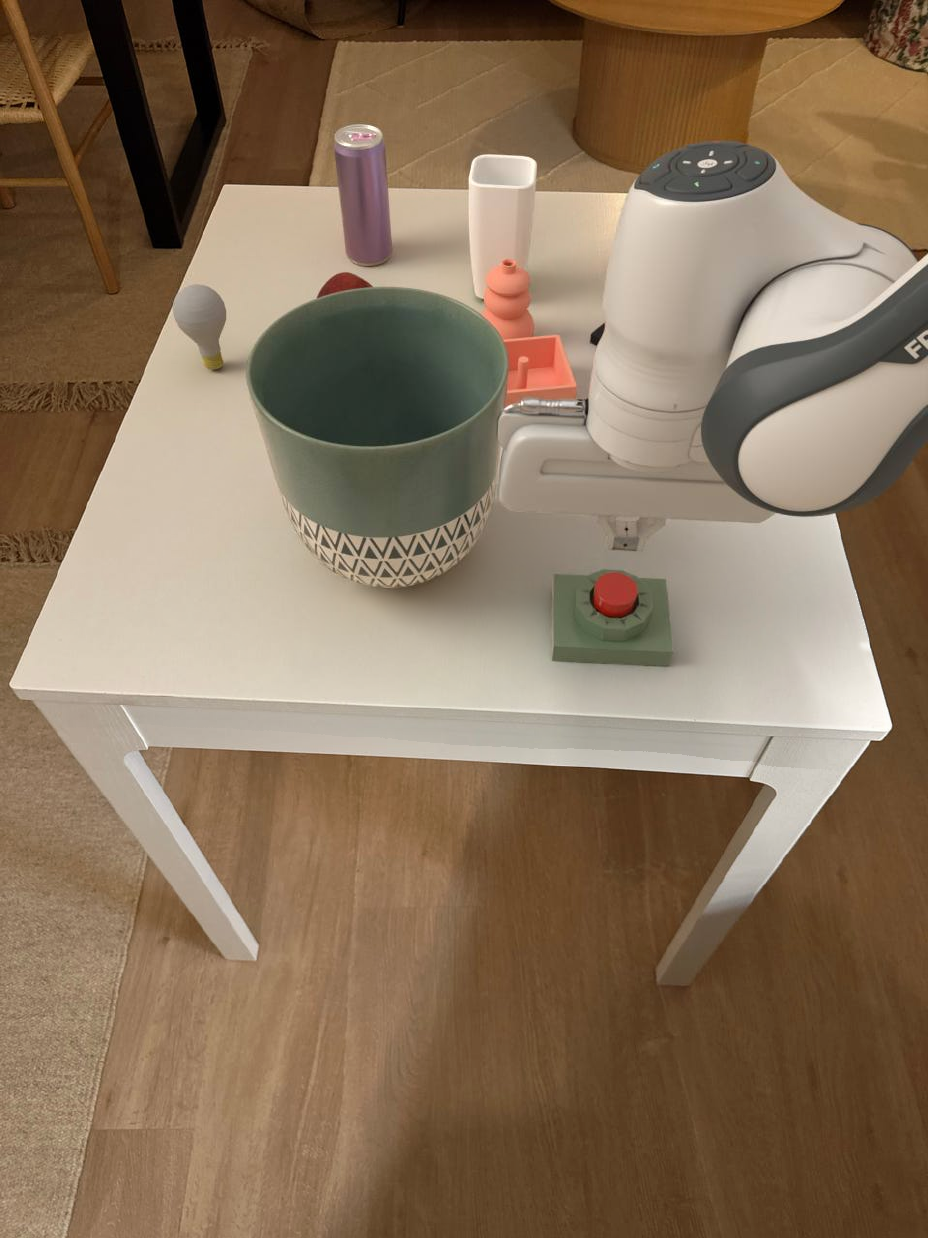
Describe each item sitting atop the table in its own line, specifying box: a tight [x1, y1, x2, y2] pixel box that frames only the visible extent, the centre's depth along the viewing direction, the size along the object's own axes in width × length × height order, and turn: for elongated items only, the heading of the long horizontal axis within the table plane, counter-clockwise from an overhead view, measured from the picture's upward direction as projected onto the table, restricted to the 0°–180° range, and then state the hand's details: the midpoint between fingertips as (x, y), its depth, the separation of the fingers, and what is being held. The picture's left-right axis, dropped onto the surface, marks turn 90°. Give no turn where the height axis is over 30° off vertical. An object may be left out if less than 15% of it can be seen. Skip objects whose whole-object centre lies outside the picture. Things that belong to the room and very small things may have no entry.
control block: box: [551, 568, 674, 667], centre depth 78 cm, size 10×8×4 cm
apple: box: [315, 271, 374, 299], centre depth 102 cm, size 7×8×8 cm
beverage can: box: [333, 123, 393, 267], centre depth 110 cm, size 6×6×15 cm
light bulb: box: [172, 283, 227, 370], centre depth 98 cm, size 6×6×10 cm
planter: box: [245, 286, 509, 589], centre depth 76 cm, size 20×20×21 cm
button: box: [593, 572, 638, 617], centre depth 76 cm, size 4×4×2 cm
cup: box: [468, 153, 538, 301], centre depth 105 cm, size 7×7×15 cm
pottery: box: [480, 259, 578, 407], centre depth 97 cm, size 18×10×10 cm, turn 8°
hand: (623, 544), depth 70 cm, fingers closed
